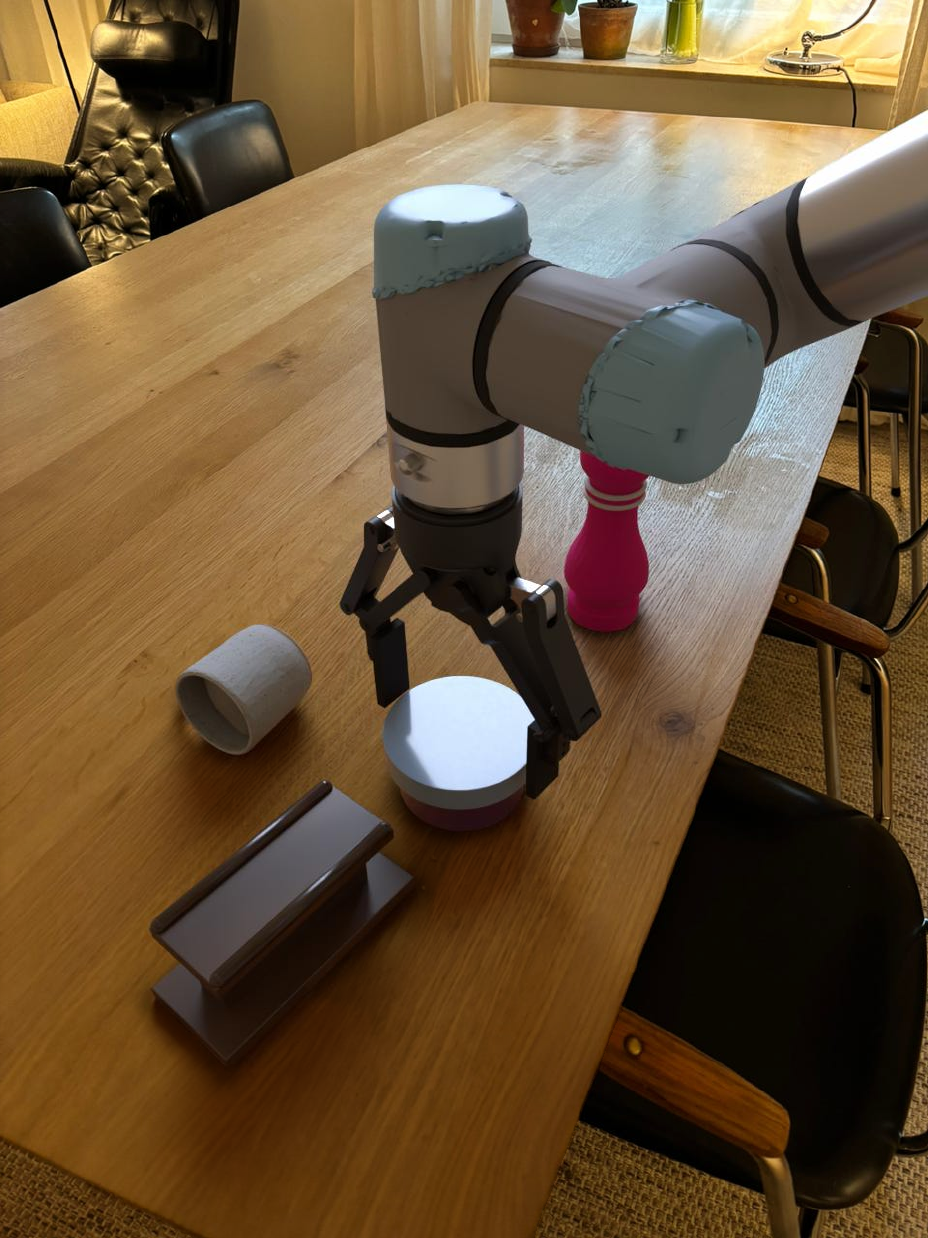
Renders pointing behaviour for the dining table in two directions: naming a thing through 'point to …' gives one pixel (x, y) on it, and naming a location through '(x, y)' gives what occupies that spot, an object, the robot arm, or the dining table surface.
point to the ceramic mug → (244, 687)
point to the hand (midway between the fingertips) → (464, 739)
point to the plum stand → (462, 813)
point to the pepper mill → (607, 549)
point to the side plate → (457, 742)
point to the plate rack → (276, 919)
